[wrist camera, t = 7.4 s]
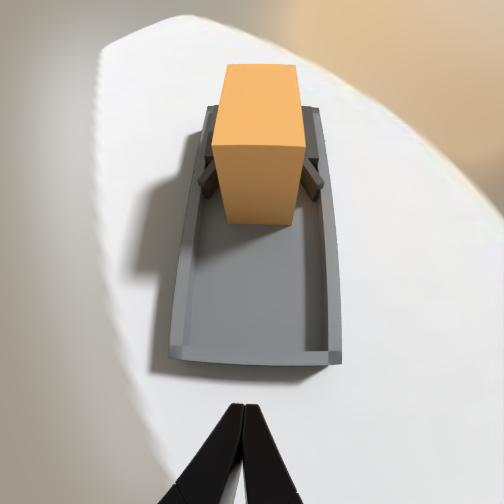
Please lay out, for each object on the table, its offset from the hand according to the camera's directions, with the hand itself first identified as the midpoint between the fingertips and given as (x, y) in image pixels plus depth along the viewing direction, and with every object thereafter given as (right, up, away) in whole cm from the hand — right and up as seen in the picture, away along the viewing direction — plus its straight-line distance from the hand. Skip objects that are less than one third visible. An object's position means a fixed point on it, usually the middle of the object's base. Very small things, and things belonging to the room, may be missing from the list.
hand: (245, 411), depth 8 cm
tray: (+1, +7, +14) cm, 16 cm away
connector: (+1, +11, +14) cm, 18 cm away
